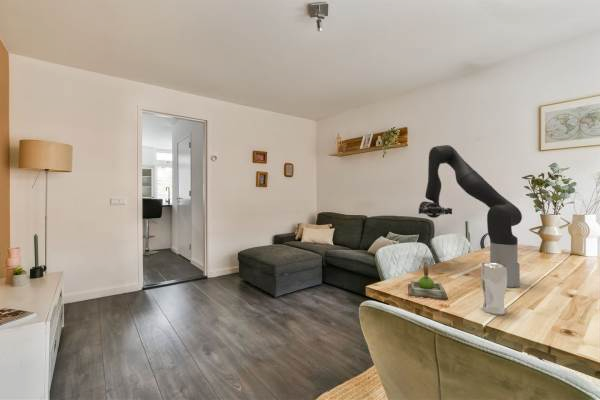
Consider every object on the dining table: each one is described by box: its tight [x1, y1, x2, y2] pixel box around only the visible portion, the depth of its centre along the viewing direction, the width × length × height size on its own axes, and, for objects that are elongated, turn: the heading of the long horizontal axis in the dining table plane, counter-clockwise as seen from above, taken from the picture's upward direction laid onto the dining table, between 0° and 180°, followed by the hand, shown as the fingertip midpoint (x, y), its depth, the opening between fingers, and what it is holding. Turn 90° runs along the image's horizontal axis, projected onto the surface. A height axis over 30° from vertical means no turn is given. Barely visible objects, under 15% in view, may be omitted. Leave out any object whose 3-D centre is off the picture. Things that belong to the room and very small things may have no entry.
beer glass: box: [480, 262, 508, 316], centre depth 89 cm, size 7×7×15 cm
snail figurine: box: [418, 257, 435, 290], centre depth 106 cm, size 5×6×12 cm
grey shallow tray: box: [407, 280, 449, 301], centre depth 106 cm, size 13×12×3 cm
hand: (436, 211), depth 125 cm, fingers open, 8 cm apart
